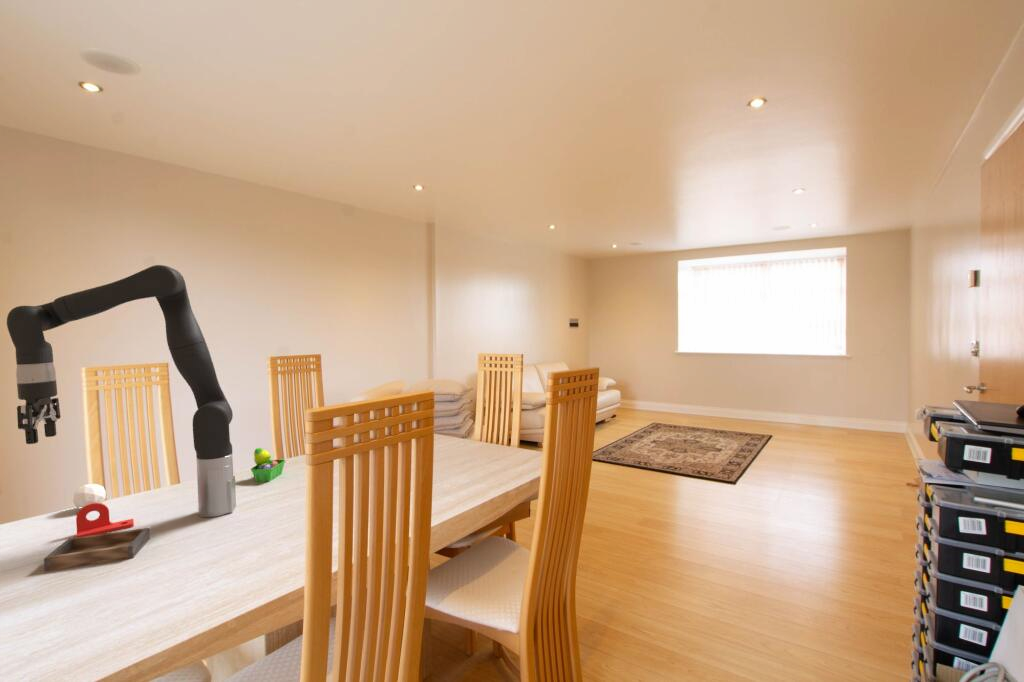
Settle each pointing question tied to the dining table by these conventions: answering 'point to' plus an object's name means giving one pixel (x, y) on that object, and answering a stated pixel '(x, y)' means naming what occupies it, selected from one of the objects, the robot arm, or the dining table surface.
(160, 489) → the dining table surface
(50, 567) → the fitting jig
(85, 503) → the geometric ball
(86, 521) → the bracket
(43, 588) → the dining table surface
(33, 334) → the robot arm
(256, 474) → the fruit basket
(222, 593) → the dining table surface
